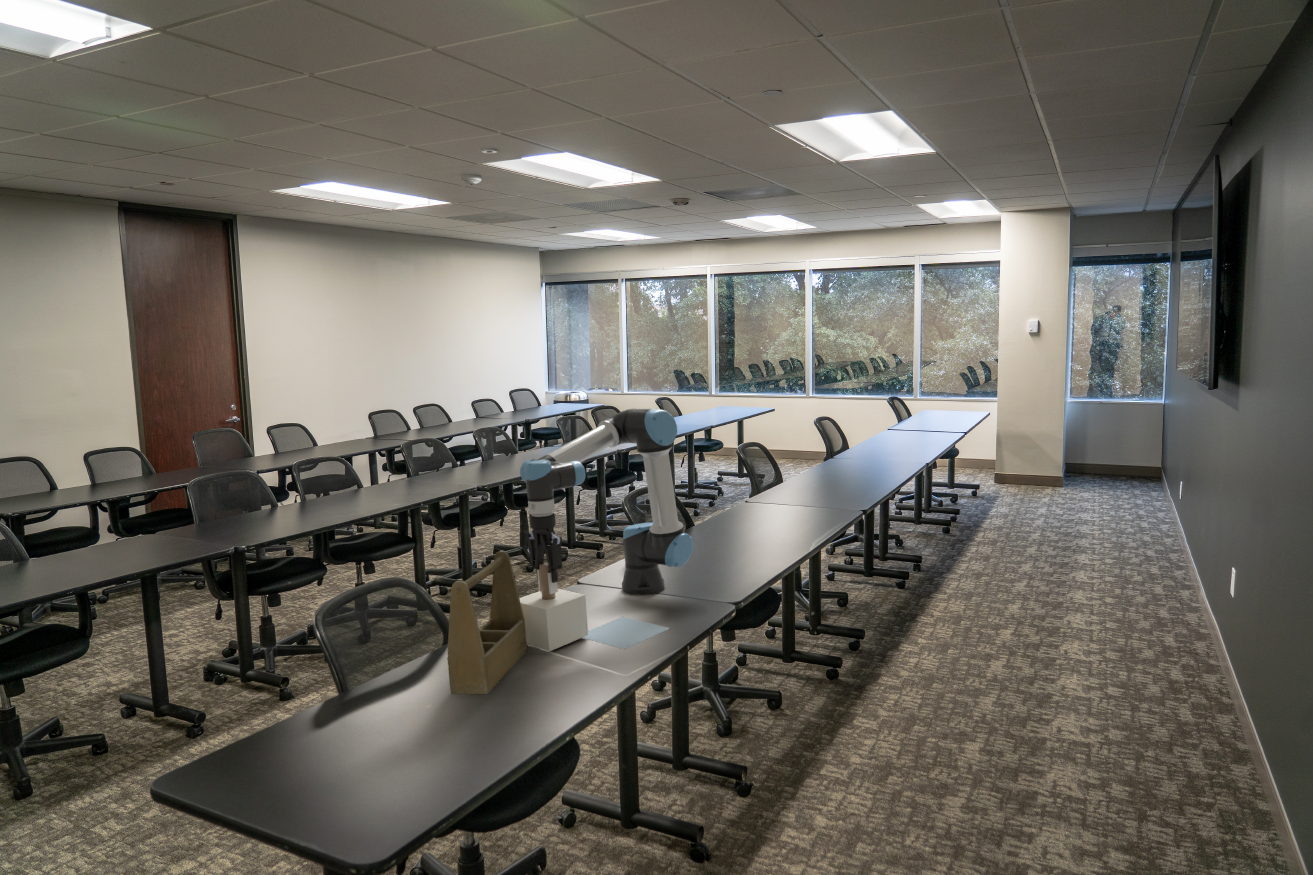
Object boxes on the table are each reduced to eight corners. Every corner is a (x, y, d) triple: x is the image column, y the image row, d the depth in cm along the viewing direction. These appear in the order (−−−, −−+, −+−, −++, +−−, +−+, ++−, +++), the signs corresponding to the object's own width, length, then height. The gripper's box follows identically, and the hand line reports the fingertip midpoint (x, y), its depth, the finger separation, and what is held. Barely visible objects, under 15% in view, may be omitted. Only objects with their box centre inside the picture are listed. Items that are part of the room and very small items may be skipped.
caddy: (488, 695, 212) (477, 581, 209) (449, 693, 214) (438, 581, 211) (528, 651, 241) (519, 550, 237) (493, 651, 243) (484, 551, 239)
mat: (622, 617, 264) (622, 616, 264) (670, 629, 251) (670, 628, 251) (576, 637, 250) (576, 635, 250) (624, 650, 236) (624, 649, 236)
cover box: (554, 625, 257) (548, 555, 254) (588, 634, 247) (582, 561, 244) (515, 640, 246) (509, 567, 243) (549, 651, 236) (543, 575, 233)
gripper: (513, 513, 245) (520, 590, 248) (551, 519, 233) (558, 599, 236) (533, 508, 250) (539, 583, 253) (571, 513, 239) (577, 592, 242)
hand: (548, 591), depth 245 cm, fingers closed on cover box, 4 cm apart
